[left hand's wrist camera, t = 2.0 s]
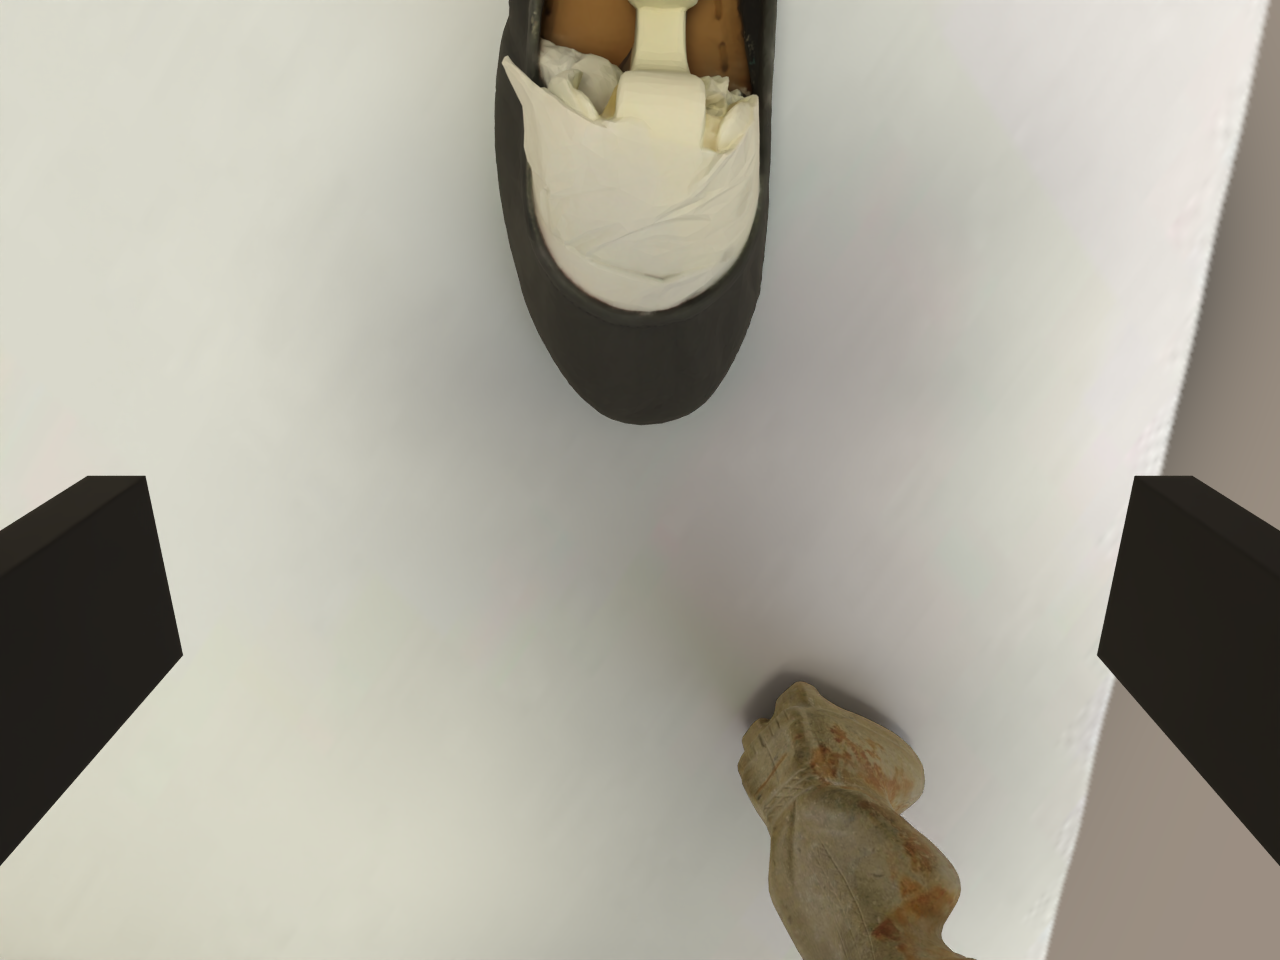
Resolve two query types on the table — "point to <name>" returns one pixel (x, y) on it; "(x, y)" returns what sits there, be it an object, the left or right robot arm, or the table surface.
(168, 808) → the table surface
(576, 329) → the dark grey shoe
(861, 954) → the sculpture
